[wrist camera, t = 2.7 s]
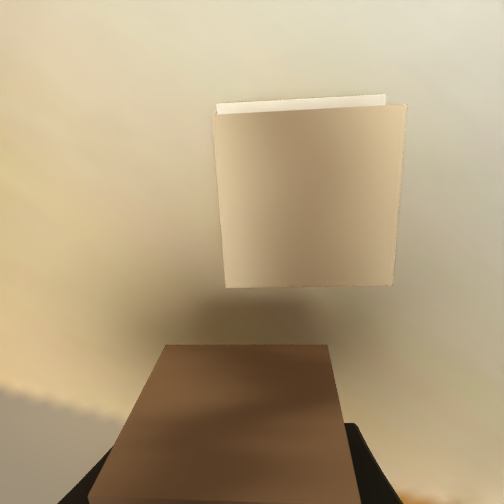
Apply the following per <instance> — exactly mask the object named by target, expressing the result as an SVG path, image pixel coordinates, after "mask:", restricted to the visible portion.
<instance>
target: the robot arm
mask: <svg viewBox="0 0 504 504" xmlns="http://www.w3.org/2000/svg"><path fill="white" fill-rule="evenodd" d="M344 426H345V430H346V435H347V440H348V444H349V449H350V454H351V458H352V463H353V468H354V472H355V477H356V482H357V486H358V491H359V496H360V500H361V504H403V503H402V501H401V500H400V498H399V497H398V495H397V494H396V492H395V491H394V489H393V487H392V486H391V484H390V483H389V481H388V480H387V478H386V477H385V475H384V473H383V472H382V470H381V468H380V467H379V465H378V463H377V462H376V460H375V458H374V456H373V455H372V453H371V451H370V449H369V448H368V446H367V444H366V442H365V440H364V438H363V436H362V434H361V432H360V430H359V428H358V426H357V425H356V424H355V423H344ZM112 448H113V447H112ZM112 448H111V449H110V450H109V451H108V452H107V453H106V454H105V455H104V456H103V458H102V459H101V460H100V461H99V462H98V463H97V464H96V465H95V466H94V467H93V468H92V469H91V470H90V471H89V472H88V473H87V474H86V476H85V477H84V478H83V479H82V480H81V481H80V482H79V483H78V484H77V485H76V486H75V487H74V488H73V489H72V490H71V491H70V492H69V493H68V494H67V495H66V496H65V497H64V498H63V499H62V500H61V501H60V502H59V503H58V504H89V500H88V494H89V492H90V490H91V489H92V487H93V485H94V483H95V481H96V479H97V477H98V475H99V473H100V471H101V469H102V467H103V465H104V463H105V462H106V460H107V458H108V456H109V454H110V452H111V450H112Z"/></svg>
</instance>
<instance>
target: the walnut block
mask: <svg viewBox="0 0 504 504" xmlns="http://www.w3.org/2000/svg"><path fill="white" fill-rule="evenodd" d="M88 500H89V504H361V500H360V496H359V491H358V486H357V482H356V477H355V472H354V468H353V463H352V458H351V454H350V449H349V444H348V440H347V435H346V430H345V426H344V421H343V416H342V412H341V407H340V402H339V398H338V393H337V388H336V384H335V379H334V374H333V370H332V365H331V360H330V356H329V351H328V346H327V345H166V346H165V348H164V350H163V352H162V354H161V355H160V357H159V359H158V361H157V363H156V365H155V367H154V369H153V371H152V373H151V375H150V377H149V379H148V381H147V382H146V384H145V386H144V388H143V390H142V392H141V394H140V396H139V398H138V400H137V402H136V404H135V406H134V408H133V409H132V411H131V413H130V415H129V417H128V419H127V421H126V423H125V425H124V427H123V429H122V431H121V433H120V435H119V437H118V438H117V440H116V442H115V444H114V446H113V448H112V450H111V452H110V454H109V456H108V458H107V460H106V462H105V463H104V465H103V467H102V469H101V471H100V473H99V475H98V477H97V479H96V481H95V483H94V485H93V487H92V489H91V490H90V492H89V494H88Z"/></svg>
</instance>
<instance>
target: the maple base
mask: <svg viewBox="0 0 504 504" xmlns="http://www.w3.org/2000/svg"><path fill="white" fill-rule="evenodd" d="M406 114H407V104H398V105H380V106H362V107H344V108H325V109H307V110H289V111H271V112H253V113H235V114H217V115H212V123H213V136H214V148H215V161H216V173H217V186H218V199H219V211H220V224H221V237H222V249H223V262H224V274H225V287H226V288H255V287H321V286H388V285H393V276H394V264H395V251H396V239H397V226H398V214H399V201H400V189H401V176H402V164H403V152H404V139H405V127H406Z"/></svg>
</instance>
